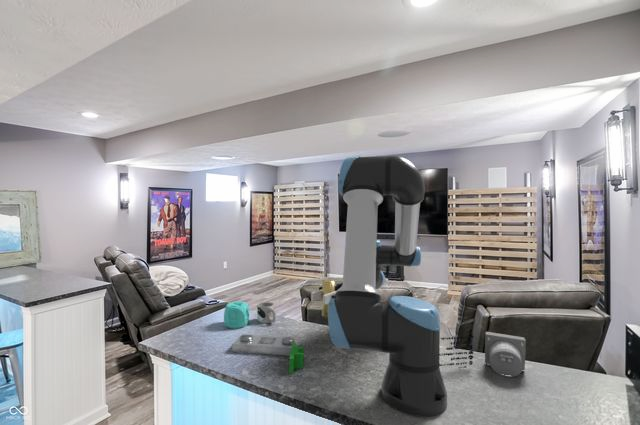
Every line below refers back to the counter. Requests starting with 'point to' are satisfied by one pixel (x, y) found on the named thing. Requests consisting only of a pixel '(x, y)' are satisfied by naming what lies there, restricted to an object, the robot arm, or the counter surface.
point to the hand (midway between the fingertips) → (318, 298)
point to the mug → (266, 313)
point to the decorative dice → (236, 315)
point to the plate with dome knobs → (265, 344)
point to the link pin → (327, 288)
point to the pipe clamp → (296, 358)
